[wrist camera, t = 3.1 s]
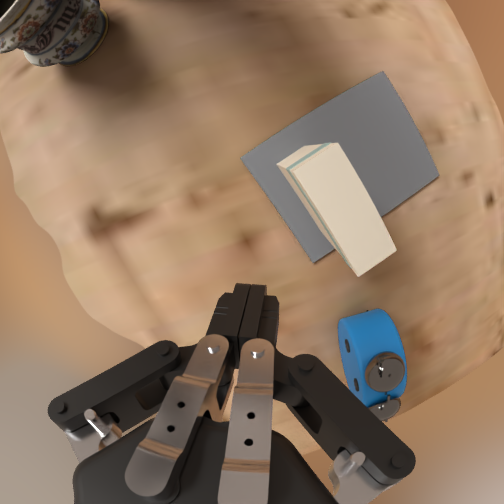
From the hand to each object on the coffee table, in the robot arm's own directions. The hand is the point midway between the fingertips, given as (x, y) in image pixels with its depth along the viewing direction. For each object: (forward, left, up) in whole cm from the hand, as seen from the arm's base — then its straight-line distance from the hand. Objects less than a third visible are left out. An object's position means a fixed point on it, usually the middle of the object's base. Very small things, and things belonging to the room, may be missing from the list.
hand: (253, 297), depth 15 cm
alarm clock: (+21, -12, -23) cm, 33 cm away
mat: (+9, +10, -22) cm, 26 cm away
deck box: (+6, +5, -22) cm, 23 cm away
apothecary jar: (-32, +17, -23) cm, 43 cm away
